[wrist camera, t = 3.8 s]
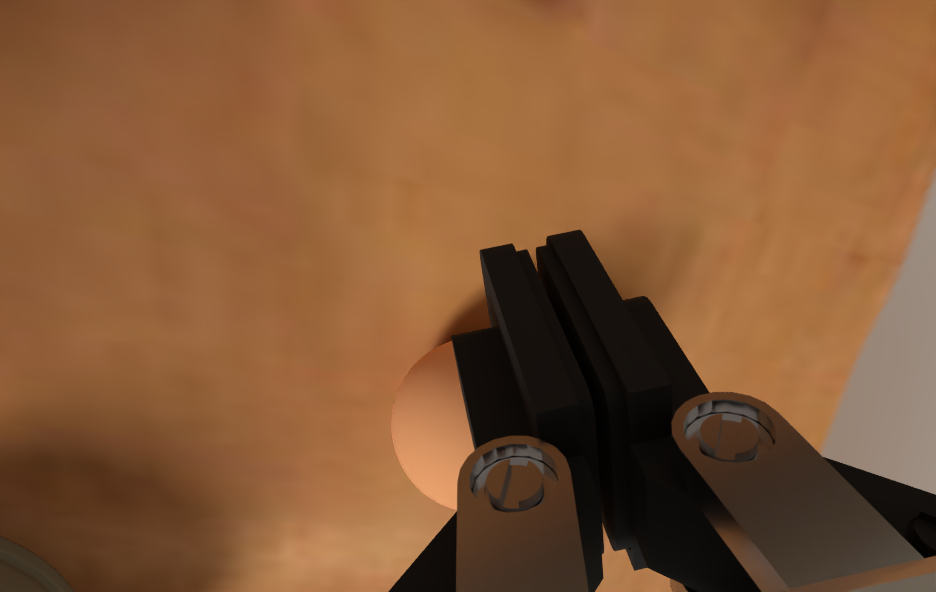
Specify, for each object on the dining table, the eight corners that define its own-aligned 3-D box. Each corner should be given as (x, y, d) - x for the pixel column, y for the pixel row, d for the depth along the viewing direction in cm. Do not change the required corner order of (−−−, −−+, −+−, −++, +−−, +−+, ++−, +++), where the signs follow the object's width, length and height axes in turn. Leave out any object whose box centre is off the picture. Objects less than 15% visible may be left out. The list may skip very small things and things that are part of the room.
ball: (368, 324, 25) (383, 442, 20) (531, 287, 25) (583, 395, 20) (400, 444, 28) (419, 569, 23) (545, 409, 28) (592, 526, 23)
